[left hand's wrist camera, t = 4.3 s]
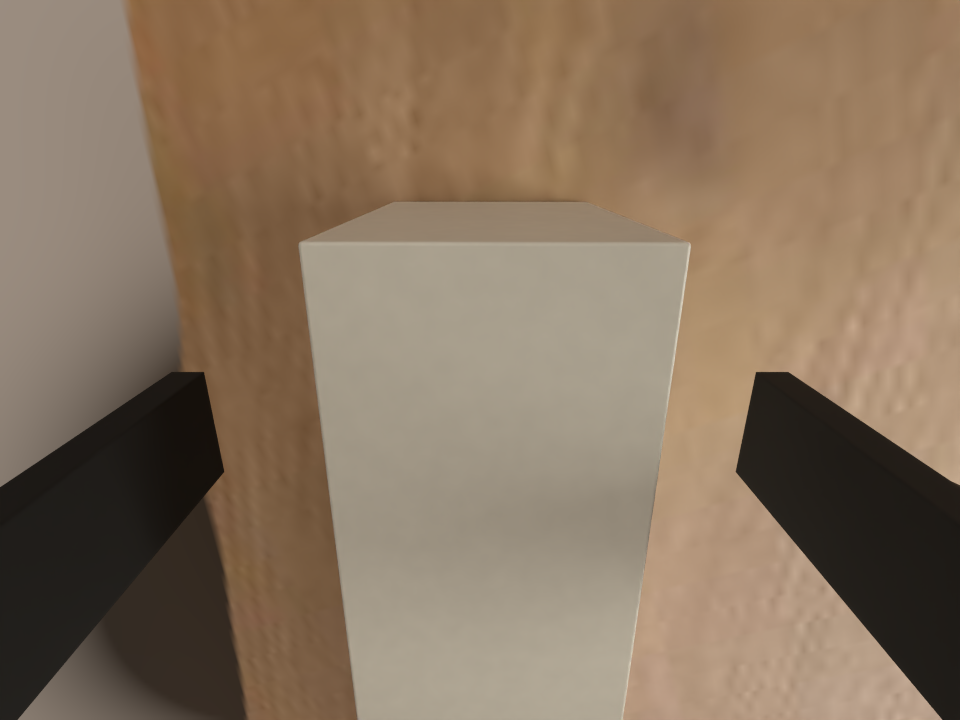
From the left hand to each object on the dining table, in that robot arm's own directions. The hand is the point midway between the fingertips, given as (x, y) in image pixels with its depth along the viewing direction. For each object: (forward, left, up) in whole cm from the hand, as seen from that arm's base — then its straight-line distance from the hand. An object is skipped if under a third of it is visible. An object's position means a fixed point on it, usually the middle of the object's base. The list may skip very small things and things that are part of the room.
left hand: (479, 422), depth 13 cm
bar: (+29, +6, -4) cm, 30 cm away
